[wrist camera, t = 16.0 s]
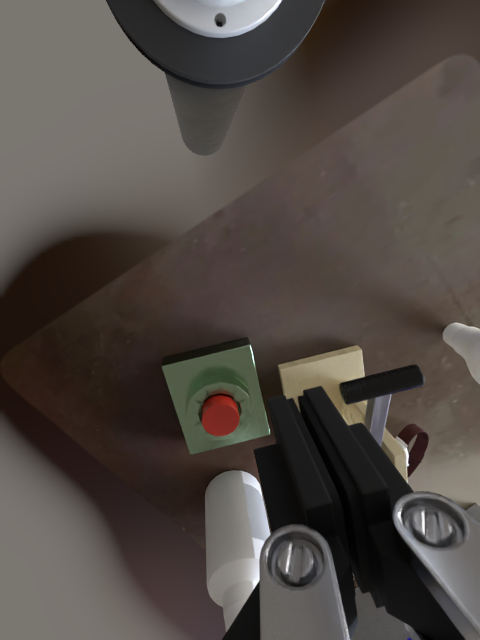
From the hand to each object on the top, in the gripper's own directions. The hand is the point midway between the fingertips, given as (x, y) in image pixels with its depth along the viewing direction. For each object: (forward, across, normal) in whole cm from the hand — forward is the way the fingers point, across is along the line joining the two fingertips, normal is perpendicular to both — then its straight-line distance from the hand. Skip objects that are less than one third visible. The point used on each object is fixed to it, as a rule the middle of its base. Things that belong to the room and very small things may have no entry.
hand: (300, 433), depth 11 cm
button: (+22, +4, +12) cm, 25 cm away
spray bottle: (+25, +6, +26) cm, 37 cm away
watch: (+25, -16, +26) cm, 40 cm away
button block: (+25, +4, +12) cm, 28 cm away
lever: (+13, -7, +11) cm, 19 cm away
